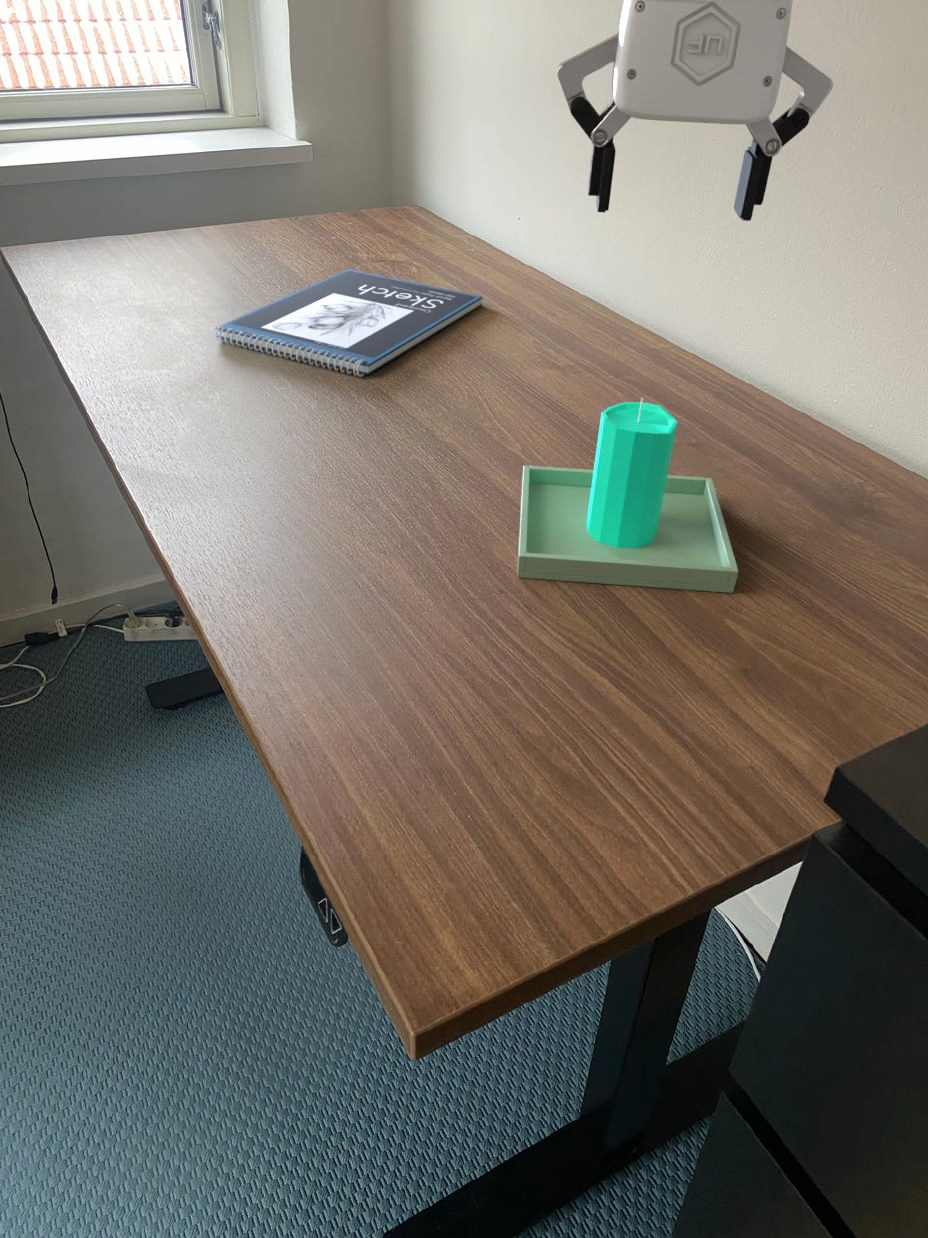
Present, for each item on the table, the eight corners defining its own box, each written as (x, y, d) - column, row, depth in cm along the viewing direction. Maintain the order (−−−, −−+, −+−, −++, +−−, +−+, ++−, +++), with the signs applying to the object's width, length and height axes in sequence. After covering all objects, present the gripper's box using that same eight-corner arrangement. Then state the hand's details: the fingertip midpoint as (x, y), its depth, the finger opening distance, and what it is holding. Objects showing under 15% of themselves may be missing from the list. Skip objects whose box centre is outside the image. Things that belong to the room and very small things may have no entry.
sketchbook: (482, 306, 125) (483, 290, 124) (363, 382, 104) (363, 364, 103) (347, 277, 133) (347, 262, 131) (211, 342, 111) (209, 325, 110)
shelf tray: (707, 497, 85) (712, 477, 84) (733, 593, 73) (738, 571, 72) (521, 485, 86) (523, 464, 85) (517, 577, 74) (518, 555, 73)
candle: (601, 552, 76) (622, 417, 69) (575, 515, 81) (592, 385, 74) (667, 544, 78) (694, 411, 70) (638, 508, 82) (661, 379, 75)
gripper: (573, -112, 51) (545, 218, 61) (893, -98, 50) (810, 233, 60) (571, -109, 57) (546, 191, 67) (857, -96, 56) (787, 205, 66)
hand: (671, 211), depth 64 cm, fingers open, 9 cm apart
